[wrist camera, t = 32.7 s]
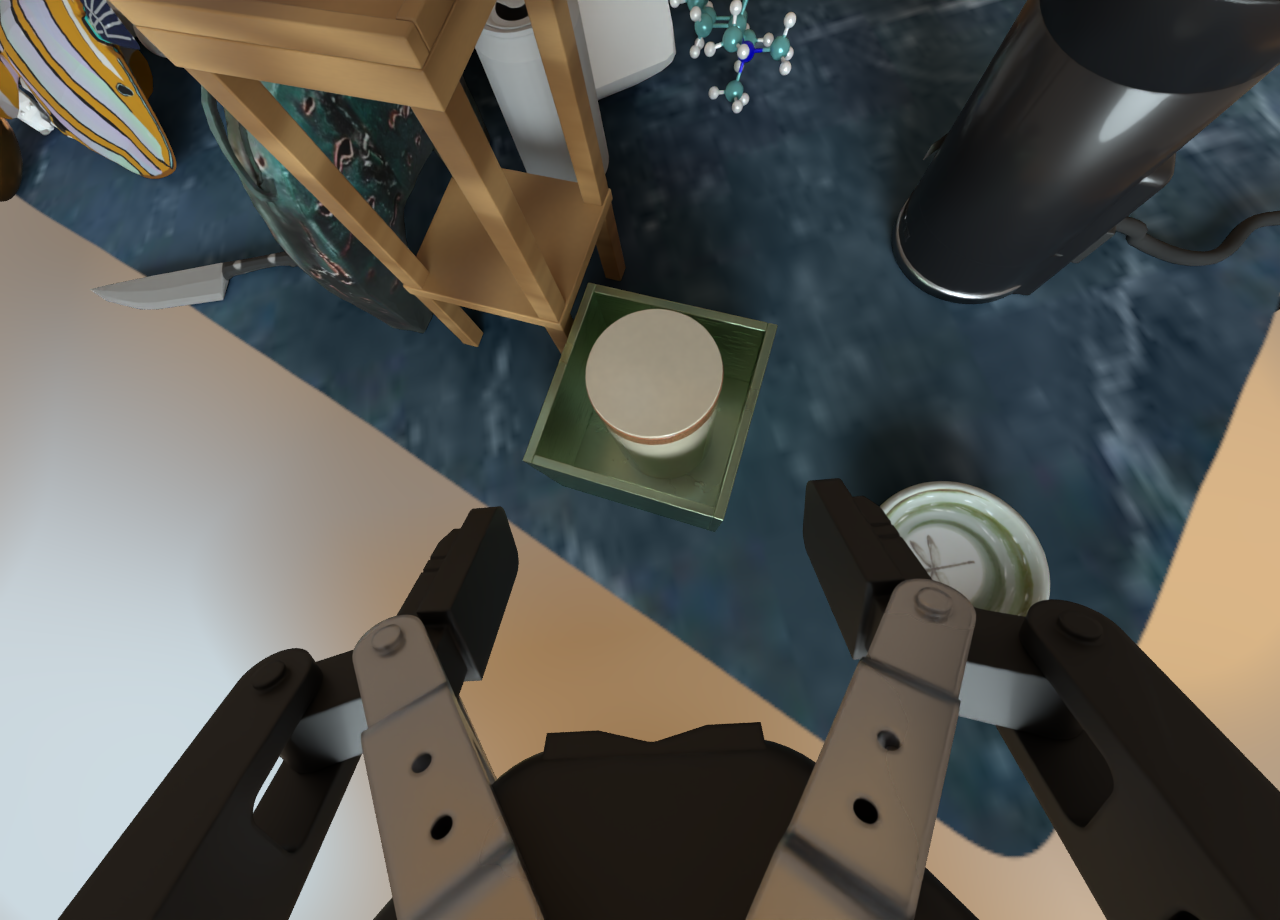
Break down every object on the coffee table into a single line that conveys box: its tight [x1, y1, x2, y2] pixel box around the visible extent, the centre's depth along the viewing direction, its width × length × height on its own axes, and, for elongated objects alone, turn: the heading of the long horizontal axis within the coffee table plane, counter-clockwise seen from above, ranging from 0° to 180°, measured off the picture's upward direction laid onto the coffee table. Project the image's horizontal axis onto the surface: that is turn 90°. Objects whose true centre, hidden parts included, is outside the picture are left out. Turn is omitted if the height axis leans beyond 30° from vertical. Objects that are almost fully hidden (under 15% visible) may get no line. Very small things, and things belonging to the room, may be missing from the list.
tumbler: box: [585, 309, 724, 479], centre depth 26 cm, size 6×6×10 cm
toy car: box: [17, 89, 72, 138], centre depth 42 cm, size 2×8×5 cm, turn 54°
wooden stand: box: [109, 0, 625, 354], centre depth 24 cm, size 10×9×22 cm
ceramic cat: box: [201, 74, 490, 333], centre depth 27 cm, size 20×6×20 cm, turn 168°
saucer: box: [880, 481, 1050, 617], centre depth 27 cm, size 10×10×2 cm
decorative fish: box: [0, 0, 176, 179], centre depth 37 cm, size 20×12×15 cm
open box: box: [523, 283, 777, 532], centre depth 28 cm, size 10×10×8 cm
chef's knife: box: [91, 251, 298, 309], centre depth 38 cm, size 19×1×3 cm
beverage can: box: [475, 0, 609, 182], centre depth 31 cm, size 6×6×12 cm
